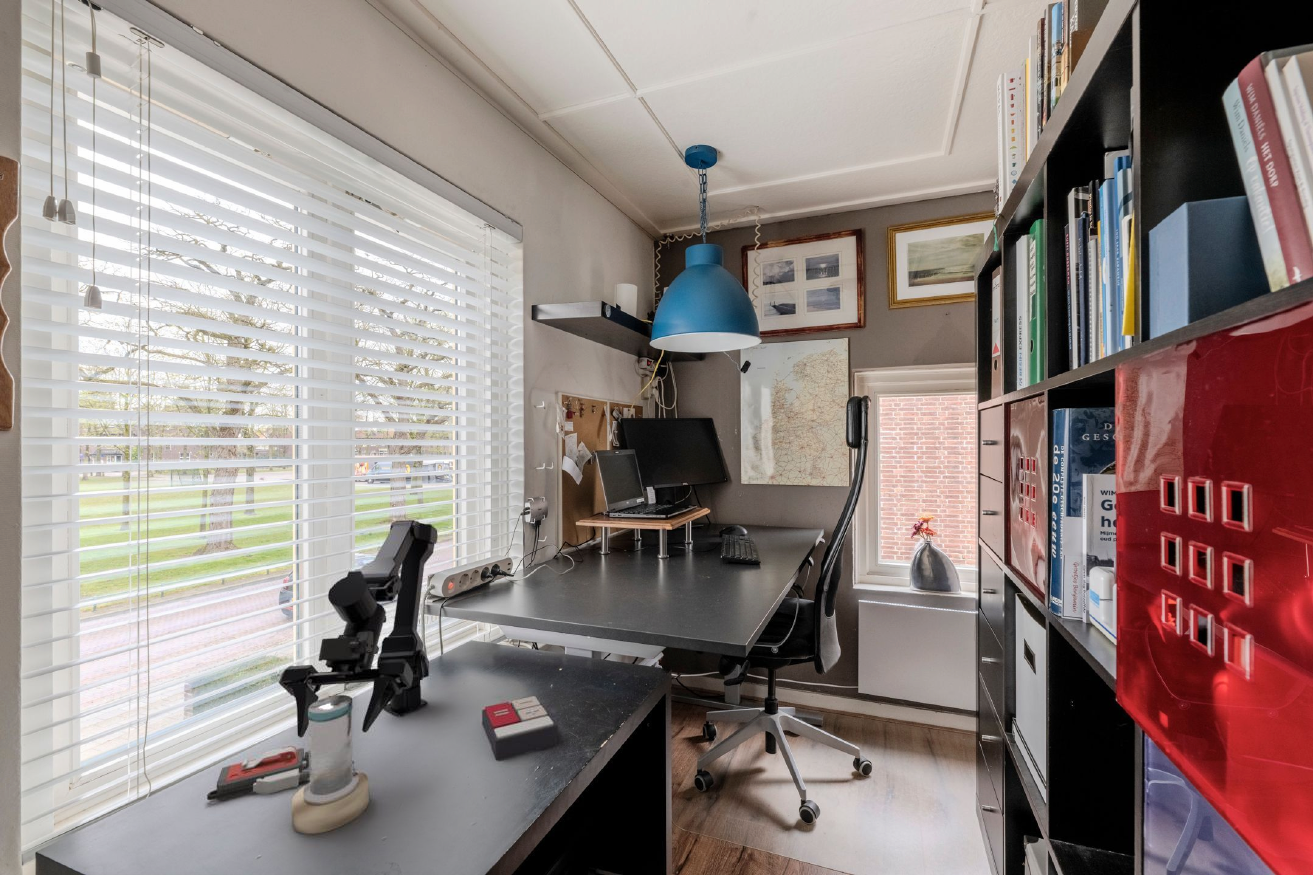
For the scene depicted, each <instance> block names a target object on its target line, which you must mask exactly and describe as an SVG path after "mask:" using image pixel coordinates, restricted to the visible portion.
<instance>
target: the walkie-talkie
mask: <svg viewBox="0 0 1313 875" xmlns="http://www.w3.org/2000/svg"><path fill="white" fill-rule="evenodd" d="M354 764H355V762H354V760H353V765H354ZM307 766H309V750H308V751H305V748H304V747H300V748H296V746H292V745H288V746H285V747H281V749H280V748H276V749H273V750H268V751H265V752H264V753H262V754H261V755H260V756H259V757H257V758H256V759H255V758H254V759H252V760H251V759H250V760H249V758H243V761H242V762H239V763H235V764H232V765H227V766H224V767H222V768H221V770H220V773H219V775H218V778H217V781H216V789H214V790H211V791H210V792H208V793H207V794H206V799H207V800H208V801H215V800H216V801H220V802H222V801H225V800H228V799H232V798H235V797H240V796H243V795H247V794H251V793H256V794H262V795H264V794H266V795H269V794H273V793H277V792H281V791H284V790H288V789H293V788H297V787H299V783H300V782H303V781H307V780H309V779H310V770H307V769H304V768H305V767H307Z"/></svg>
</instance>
